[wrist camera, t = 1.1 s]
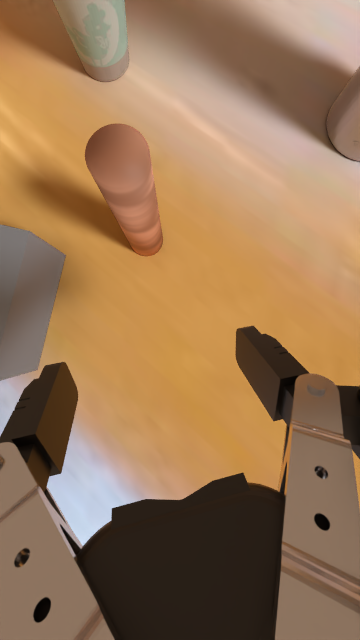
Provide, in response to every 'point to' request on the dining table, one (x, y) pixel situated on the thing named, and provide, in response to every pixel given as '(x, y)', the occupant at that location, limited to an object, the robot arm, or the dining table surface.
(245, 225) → the dining table surface
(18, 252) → the hole block
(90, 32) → the coffee cup
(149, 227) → the pin
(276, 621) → the robot arm
